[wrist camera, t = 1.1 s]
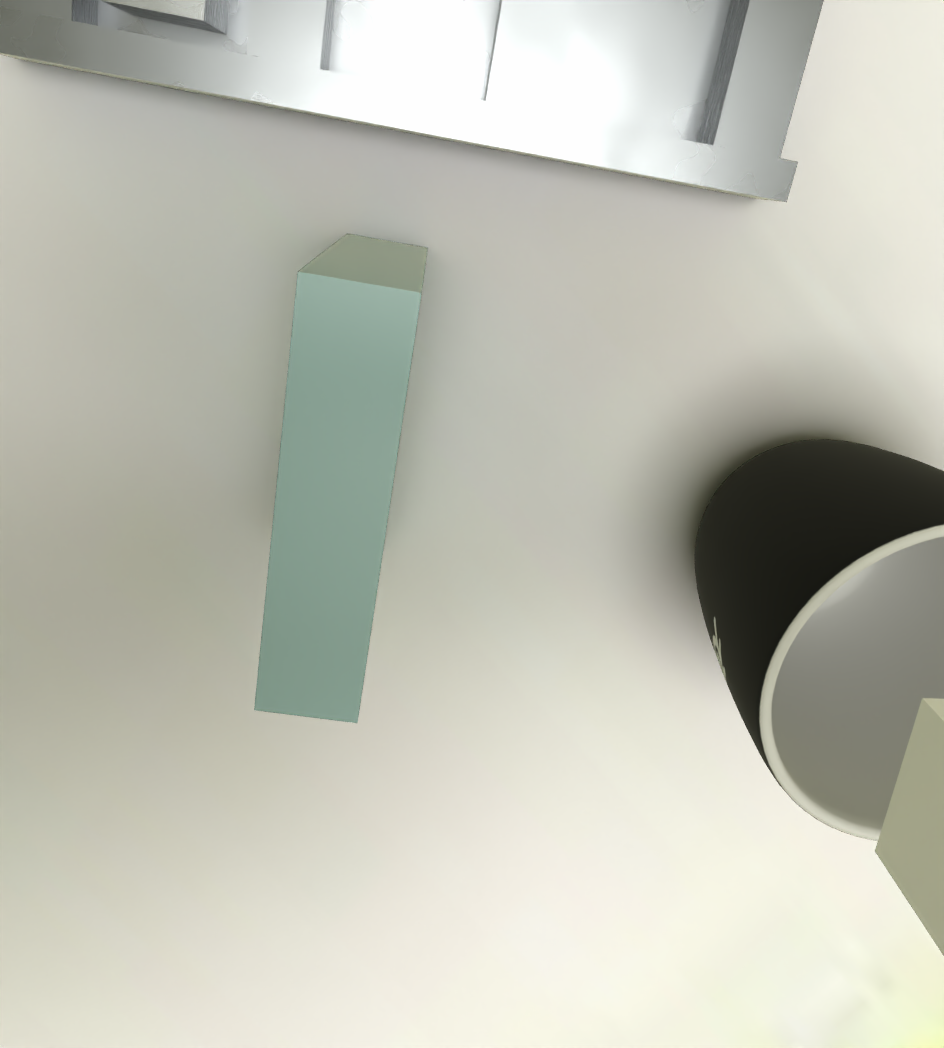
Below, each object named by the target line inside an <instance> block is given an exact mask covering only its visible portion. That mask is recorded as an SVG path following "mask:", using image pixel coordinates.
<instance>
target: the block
mask: <svg viewBox="0 0 944 1048" xmlns="http://www.w3.org/2000/svg"><path fill="white" fill-rule="evenodd" d="M427 249H428V248H426V247H420V246H415V245H409V244H404V243H398V242H392V241H387V240H381V239H375V238H370V237H364V236H358V235H353V234H346V235H345V236H343V237H342V238H341V239H339V240H338V241H337V242H335V243H334V244H333V245H332V246H330V247H329V248H328V249H326V250H325V251H324V252H322V253H321V254H320V255H319V256H317V257H316V258H315V259H313V260H312V261H311V262H310V263H308V264H307V265H306V266H304V267H303V268H302V269H300V270H299V271H298V275H297V285H296V295H295V305H294V315H293V325H292V335H291V345H290V355H289V366H288V376H287V386H286V396H285V406H284V416H283V426H282V436H281V446H280V456H279V466H278V476H277V486H276V496H275V506H274V516H273V527H272V537H271V547H270V557H269V567H268V577H267V587H266V597H265V607H264V617H263V627H262V637H261V647H260V657H259V667H258V677H257V688H256V698H255V708H254V710H257V711H265V712H273V713H281V714H289V715H297V716H305V717H313V718H321V719H329V720H337V721H345V722H353V723H357V722H358V715H359V709H360V702H361V695H362V689H363V682H364V675H365V668H366V662H367V655H368V648H369V642H370V635H371V628H372V622H373V615H374V608H375V602H376V595H377V588H378V582H379V575H380V568H381V562H382V555H383V548H384V541H385V535H386V528H387V521H388V515H389V508H390V501H391V495H392V488H393V481H394V475H395V468H396V461H397V455H398V448H399V441H400V434H401V428H402V421H403V414H404V408H405V401H406V394H407V388H408V381H409V374H410V368H411V361H412V354H413V348H414V341H415V334H416V328H417V321H418V314H419V307H420V301H421V294H422V287H423V279H424V272H425V264H426V257H427Z"/></svg>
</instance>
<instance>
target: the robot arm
mask: <svg viewBox="0 0 944 1048" xmlns="http://www.w3.org/2000/svg"><path fill="white" fill-rule="evenodd" d="M875 852H876V854H877V855H878V857H879V858H880V860H881V861H882V863H883V864H884V866H885V867H886V869H887V870H888V872H889V873H890V875H891V876H892V878H893V879H894V881H895V882H896V884H897V886H898V887H899V889H900V890H901V892H902V893H903V895H904V896H905V898H906V899H907V901H908V902H909V904H910V905H911V907H912V908H913V910H914V911H915V913H916V914H917V916H918V917H919V919H920V920H921V922H922V924H923V925H924V927H925V928H926V930H927V931H928V933H929V934H930V936H931V937H932V939H933V940H934V942H935V943H936V945H937V946H938V948H939V949H940V951H941V952H942V954H943V955H944V699H933V698H922V700H921V704H920V707H919V710H918V713H917V717H916V720H915V723H914V726H913V729H912V733H911V736H910V739H909V742H908V746H907V749H906V752H905V755H904V759H903V762H902V765H901V768H900V772H899V775H898V778H897V781H896V784H895V788H894V791H893V794H892V797H891V801H890V804H889V807H888V810H887V814H886V817H885V820H884V823H883V826H882V830H881V833H880V836H879V839H878V843H877V846H876V849H875Z"/></svg>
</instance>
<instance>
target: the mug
mask: <svg viewBox="0 0 944 1048" xmlns="http://www.w3.org/2000/svg"><path fill="white" fill-rule="evenodd" d="M695 573H696V581H697V589H698V594H699V599H700V603H701V607H702V611H703V615H704V619H705V623H706V626H707V630H708V633H709V636H710V639H711V642H712V645H713V647H714V650H715V653H716V656H717V658H718V661H719V664H720V667H721V669H722V672H723V675H724V677H725V680H726V682H727V685H728V687H729V690H730V692H731V694H732V697H733V699H734V701H735V704H736V706H737V708H738V710H739V712H740V715H741V717H742V719H743V721H744V723H745V725H746V727H747V729H748V731H749V733H750V735H751V737H752V739H753V741H754V743H755V745H756V747H757V749H758V751H759V753H760V755H761V757H762V758H763V760H764V762H765V764H766V765H767V767H768V768H769V770H770V772H771V773H772V775H773V776H774V778H775V779H776V781H777V782H778V783H779V785H780V786H781V787H782V788H783V790H784V791H785V792H786V793H787V794H788V795H789V796H790V798H791V799H792V800H793V801H794V802H795V803H797V804H798V805H799V806H800V807H801V808H802V809H803V810H804V811H806V812H807V813H809V814H810V815H811V816H813V817H814V818H816V819H817V820H819V821H821V822H823V823H824V824H826V825H828V826H830V827H832V828H835V829H837V830H839V831H841V832H844V833H847V834H850V835H854V836H857V837H861V838H865V839H870V840H875V841H878V839H879V836H880V833H881V830H882V826H883V823H884V820H885V817H886V814H887V810H888V807H889V804H890V801H891V797H892V794H893V791H894V788H895V784H896V781H897V778H898V775H899V772H900V768H901V765H902V762H903V759H904V755H905V752H906V749H907V746H908V742H909V739H910V736H911V733H912V729H913V726H914V723H915V720H916V717H917V713H918V710H919V707H920V704H921V700H922V698H933V699H944V471H942V470H939V469H937V468H934V467H932V466H929V465H927V464H924V463H922V462H919V461H917V460H914V459H911V458H908V457H905V456H902V455H899V454H896V453H893V452H889V451H886V450H883V449H879V448H876V447H872V446H868V445H863V444H858V443H852V442H847V441H839V440H806V441H799V442H794V443H789V444H785V445H782V446H778V447H775V448H773V449H770V450H768V451H765V452H763V453H761V454H759V455H757V456H755V457H754V458H752V459H751V460H749V461H747V462H746V463H745V464H743V465H742V466H740V467H739V468H738V469H737V470H736V471H734V472H733V473H732V474H731V475H730V476H729V477H728V478H727V479H726V480H725V481H724V482H723V483H722V485H721V486H720V487H719V489H718V490H717V491H716V493H715V494H714V496H713V497H712V499H711V500H710V502H709V504H708V506H707V508H706V510H705V512H704V515H703V517H702V520H701V523H700V526H699V529H698V534H697V539H696V547H695Z"/></svg>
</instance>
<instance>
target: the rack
mask: <svg viewBox="0 0 944 1048" xmlns="http://www.w3.org/2000/svg"><path fill="white" fill-rule="evenodd" d="M823 1H824V0H0V54H1V55H4V56H8V57H12V58H16V59H20V60H26V61H31V62H36V63H42V64H47V65H52V66H57V67H63V68H68V69H73V70H79V71H84V72H89V73H94V74H100V75H105V76H110V77H116V78H121V79H126V80H131V81H137V82H142V83H147V84H152V85H158V86H163V87H168V88H174V89H179V90H184V91H189V92H195V93H200V94H205V95H211V96H216V97H221V98H226V99H232V100H237V101H242V102H248V103H253V104H258V105H263V106H269V107H274V108H279V109H285V110H290V111H295V112H300V113H306V114H311V115H316V116H321V117H327V118H332V119H337V120H343V121H348V122H353V123H358V124H364V125H369V126H374V127H380V128H385V129H390V130H395V131H401V132H406V133H411V134H417V135H422V136H427V137H432V138H438V139H443V140H448V141H453V142H459V143H464V144H469V145H475V146H480V147H485V148H490V149H496V150H501V151H506V152H512V153H517V154H522V155H527V156H533V157H538V158H543V159H549V160H554V161H559V162H564V163H570V164H575V165H580V166H586V167H591V168H596V169H601V170H607V171H612V172H617V173H622V174H628V175H633V176H638V177H644V178H649V179H654V180H659V181H665V182H670V183H675V184H681V185H686V186H691V187H696V188H702V189H707V190H712V191H718V192H723V193H728V194H733V195H739V196H744V197H749V198H754V199H763V200H774V201H783V202H787V199H788V195H789V192H790V188H791V185H792V181H793V178H794V174H795V171H796V167H797V164H798V162H796V161H791V160H785V159H780V156H781V152H782V148H783V145H784V141H785V138H786V134H787V130H788V127H789V123H790V120H791V116H792V112H793V109H794V105H795V102H796V98H797V94H798V91H799V87H800V84H801V80H802V76H803V73H804V69H805V66H806V62H807V58H808V55H809V51H810V47H811V44H812V40H813V37H814V33H815V29H816V26H817V22H818V19H819V15H820V11H821V8H822V4H823Z"/></svg>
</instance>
